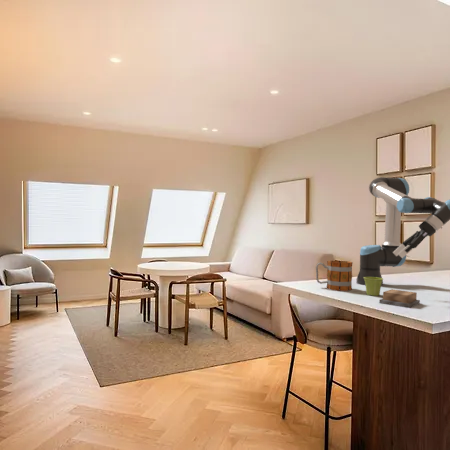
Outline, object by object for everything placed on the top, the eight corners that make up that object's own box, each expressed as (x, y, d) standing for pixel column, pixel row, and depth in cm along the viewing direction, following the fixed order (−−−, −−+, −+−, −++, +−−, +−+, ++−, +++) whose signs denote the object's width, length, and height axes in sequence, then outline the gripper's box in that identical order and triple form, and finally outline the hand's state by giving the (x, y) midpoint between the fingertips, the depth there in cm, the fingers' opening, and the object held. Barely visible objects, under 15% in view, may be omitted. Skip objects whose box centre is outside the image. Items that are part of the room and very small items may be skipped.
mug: (351, 287, 218) (351, 261, 218) (352, 291, 205) (353, 263, 205) (315, 285, 223) (316, 259, 223) (314, 289, 210) (315, 261, 210)
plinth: (379, 302, 177) (379, 292, 177) (390, 299, 187) (391, 288, 187) (409, 307, 168) (409, 296, 168) (419, 303, 178) (419, 292, 178)
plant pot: (359, 293, 201) (360, 276, 201) (377, 293, 202) (377, 276, 202) (368, 296, 192) (368, 279, 192) (386, 296, 193) (386, 279, 193)
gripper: (444, 231, 178) (408, 262, 181) (429, 231, 202) (397, 258, 205) (432, 219, 179) (396, 251, 182) (418, 221, 203) (387, 248, 206)
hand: (397, 255), depth 194 cm, fingers open, 13 cm apart
